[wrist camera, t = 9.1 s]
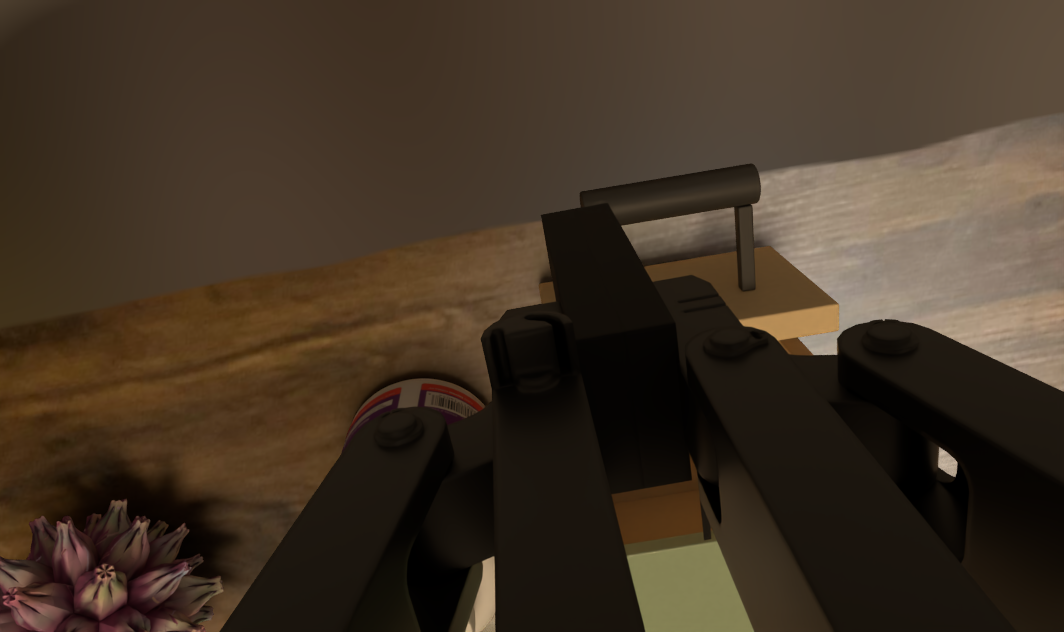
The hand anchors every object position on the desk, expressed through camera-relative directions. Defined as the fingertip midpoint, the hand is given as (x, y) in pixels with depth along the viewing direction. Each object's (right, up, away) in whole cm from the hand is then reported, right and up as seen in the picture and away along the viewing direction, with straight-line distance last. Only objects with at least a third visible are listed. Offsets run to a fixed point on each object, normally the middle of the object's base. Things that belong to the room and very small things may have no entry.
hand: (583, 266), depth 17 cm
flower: (-23, -14, +25) cm, 37 cm away
